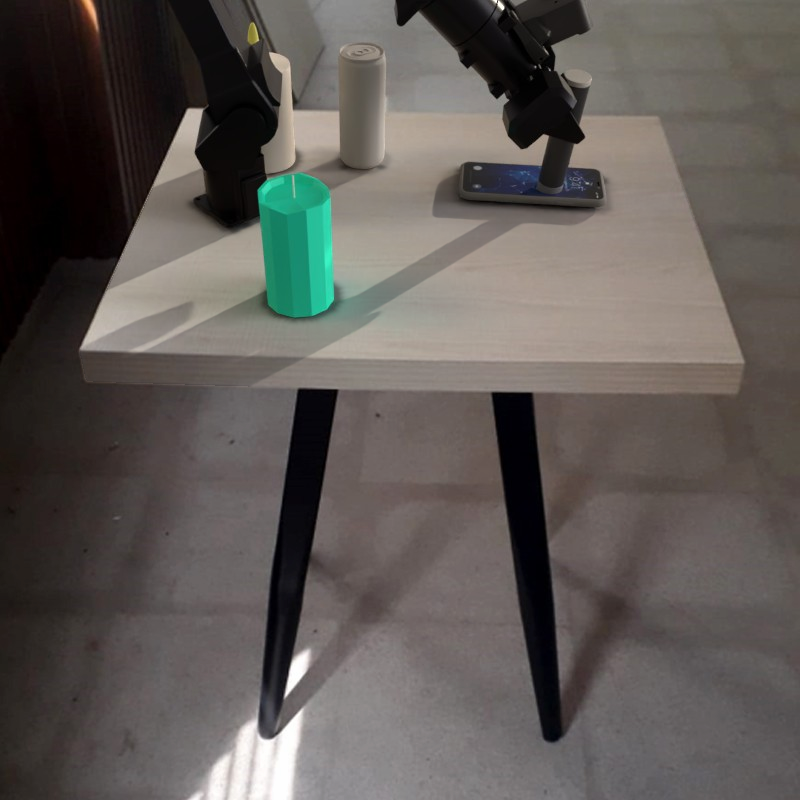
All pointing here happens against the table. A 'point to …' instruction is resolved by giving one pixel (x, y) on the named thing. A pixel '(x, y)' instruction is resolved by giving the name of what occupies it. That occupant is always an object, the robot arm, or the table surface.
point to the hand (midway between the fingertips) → (578, 133)
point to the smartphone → (529, 185)
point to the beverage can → (362, 104)
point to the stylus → (559, 149)
